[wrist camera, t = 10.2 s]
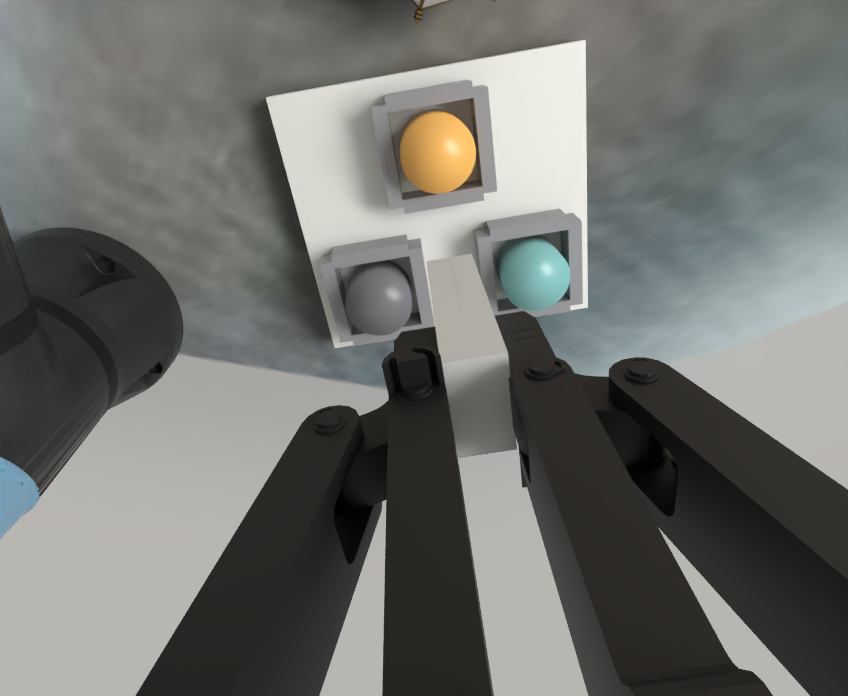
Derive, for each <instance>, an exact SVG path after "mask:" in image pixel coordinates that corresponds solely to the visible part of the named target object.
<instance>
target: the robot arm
mask: <svg viewBox="0 0 848 696" xmlns="http://www.w3.org/2000/svg"><path fill="white" fill-rule="evenodd" d="M426 263H427V270H428V277H429V285H430V292H431V299H432V307H433V314H434V321H435V327H428V328H422V329H416V330H409V331H403V332H401V333H400V334H399V336H398V337H397V338H396V340H395V341H394V352H392V353H390V354H389V355H388V356H387V357H386V358H384V361H383V363H382V368H383V372H384V377H385V381H386V385H387V390H388V394H389V400H388V401H387V402H386V403H385V404H384V405H382V406H381V407H379V408H378V409H376V410H374V411H371V412H369V413H367V414H364V415H361V416H359V415H358V413H357V412H356V410H355V409H353V408H351V407H349V406H341V405H338V406H331V407H330V406H329V407H326V408H323V409H320V410H318V411H316V412H314V413H313V414H311V415H310V416H308V417H307V418H306V420H304V422H303V423H302V424H301V426H300V427H299V429H298V431H297V432H296V434H295V435H294V437H293V439H292V440H291V442H290V444H289V445H288V447H287V449H286V450H285V452H284V453H283V455H282V457H281V458H280V460H279V462H278V463H277V465H276V467H275V468H274V470H273V471H272V473H271V475H270V477H269V478H268V480H267V481H266V483H265V485H264V487H263V488H262V490H261V491H260V493H259V495H258V496H257V498H256V499H255V501H254V503H253V504H252V506H251V508H250V509H249V511H248V512H247V514H246V516H245V517H244V519H243V521H242V522H241V524H240V526H239V527H238V529H237V530H236V532H235V534H234V535H233V537H232V539H231V540H230V542H229V544H228V545H227V547H226V548H225V550H224V552H223V553H222V555H221V557H220V558H219V560H218V562H217V563H216V565H215V567H214V568H213V570H212V571H211V573H210V575H209V576H208V578H207V580H206V581H205V583H204V584H203V586H202V588H201V589H200V591H199V593H198V595H197V596H196V598H195V599H194V601H193V603H192V604H191V606H190V607H189V609H188V611H187V612H186V614H185V616H184V617H183V619H182V621H181V622H180V624H179V625H178V627H177V629H176V630H175V632H174V634H173V635H172V637H171V639H170V640H169V642H168V644H167V645H166V647H165V649H164V650H163V652H162V653H161V655H160V657H159V658H158V660H157V661H156V663H155V665H154V667H153V668H152V670H151V671H150V673H149V675H148V676H147V678H146V680H145V681H144V683H143V685H142V686H141V688H140V690H139V691H138V693H137V694H136V696H319V694H320V692H321V689H322V686H323V683H324V680H325V677H326V674H327V671H328V668H329V665H330V662H331V659H332V656H333V653H334V650H335V647H336V644H337V641H338V638H339V635H340V632H341V629H342V626H343V623H344V621H345V618H346V614H347V611H348V608H349V606H350V603H351V600H352V597H353V594H354V591H355V588H356V585H357V582H358V579H359V576H360V573H361V570H362V567H363V564H364V561H365V558H366V555H367V552H368V549H369V546H370V543H371V540H372V537H373V534H374V531H375V528H376V525H377V522H378V519H379V516H380V514H381V510H382V501H384V500H387V503H386V551H385V552H386V553H385V557H386V558H385V601H384V647H383V696H494V694H493V688H492V682H491V675H490V668H489V661H488V656H487V648H486V642H485V635H484V628H483V622H482V616H481V609H480V602H479V596H478V589H477V582H476V576H475V569H474V563H473V557H472V550H471V543H470V537H469V530H468V523H467V517H466V511H465V504H464V497H463V491H462V484H461V477H460V471H459V465H458V459H457V458H461V457H468V456H474V455H482V454H488V453H495V452H501V451H507V450H515V449H517V445H516V438H517V442H518V445H519V454H520V465H521V477H522V487H527V488H528V491H529V495H530V498H531V501H532V505H533V508H534V512H535V515H536V518H537V522H538V525H539V528H540V532H541V535H542V539H543V542H544V546H545V549H546V552H547V556H548V559H549V563H550V566H551V569H552V573H553V576H554V580H555V583H556V586H557V590H558V593H559V596H560V600H561V603H562V607H563V610H564V613H565V617H566V620H567V624H568V627H569V631H570V634H571V637H572V641H573V644H574V648H575V651H576V655H577V657H578V661H579V665H580V668H581V672H582V675H583V678H584V682H585V685H586V688H587V692H588V695H589V696H773V695H772V694H771V693H770V691H769V689H768V688H767V687H766V685H765V684H764V682H763V681H761V679H760V678H758V677H757V676H756V675H755V674H754V673H753V672H751V671H747V670H742V669H739V668H738V667H736V666H735V665H734V663H732V661H731V660H730V658H729V657H728V655H727V653H726V652H725V650H724V648H723V646H722V644H721V642H720V641H719V639H718V637H717V635H716V633H715V631H714V630H713V628H712V626H711V624H710V622H709V620H708V618H707V617H706V615H705V613H704V611H703V609H702V607H701V606H700V604H699V602H698V600H697V598H696V597H695V595H694V593H693V591H692V589H691V587H690V585H689V584H688V582H687V580H686V578H685V576H684V574H683V572H682V571H681V569H680V567H679V566H678V563H677V561H676V560H675V558H674V556H673V554H672V552H671V551H670V549H669V547H668V545H667V544H666V541H665V540H664V538H663V536H662V534H661V532H660V530H659V528H660V529H661V530H662V532H663V533H664V534H665V535H666V536H667V537H668V538H669V539H670V540H671V542H673V544H674V545H675V546H676V547H677V548H678V549H679V551H680V552H681V553H682V554H683V555H684V556H685V557H686V558H687V559H688V561H690V563H691V564H692V565H693V566H694V567H695V568H696V569H697V570H698V572H699V573H700V574H701V575H702V576H703V577H704V578H705V579H706V580H707V582H708V583H709V584H710V585H711V586H712V587H713V588H714V589H715V591H716V592H717V593H718V594H719V595H720V596H721V597H722V598H723V599H724V600H725V602H726V603H727V604H728V605H729V606H730V607H731V608H732V609H733V610H734V612H735V613H736V614H737V615H738V616H739V617H740V618H741V619H742V620H743V621H744V623H745V624H746V625H747V626H748V627H749V628H750V629H751V630H752V632H753V633H754V634H755V635H756V636H757V637H758V638H759V639H760V640H761V642H762V643H763V644H764V645H765V646H766V647H767V648H768V649H769V650H770V652H771V653H772V654H773V655H774V656H775V657H776V658H777V659H778V660H779V662H780V663H781V664H782V665H783V666H784V667H785V668H786V669H787V670H788V672H790V674H791V675H792V676H793V677H794V678H795V679H796V680H797V681H798V683H799V684H800V685H801V686H802V687H803V688H804V689H805V690H806V691H807V692H808V694H809V695H810V696H848V490H847V489H846V488H845V487H843V486H842V485H840V484H839V483H837V482H836V481H834V480H833V479H831V478H830V477H829V476H827V475H826V474H824V473H823V472H821V471H820V470H818V469H817V468H816V467H814V466H813V465H811V464H810V463H808V462H807V461H806V460H804V459H803V458H801V457H800V456H798V455H797V454H795V453H794V452H793V451H791V450H790V449H788V448H787V447H785V446H784V445H783V444H781V443H780V442H778V441H777V440H775V439H774V438H772V437H771V436H770V435H768V434H767V433H765V432H764V431H762V430H761V429H759V428H758V427H756V426H755V425H754V424H752V423H751V422H749V421H748V420H746V419H745V418H744V417H742V416H741V415H739V414H738V413H736V412H735V411H733V410H732V409H730V408H729V407H728V406H726V405H725V404H723V403H722V402H720V401H719V400H718V399H716V398H715V397H713V396H712V395H710V394H709V393H707V392H706V391H705V390H703V389H702V388H700V387H699V386H697V385H696V384H694V383H693V382H692V381H690V380H689V379H687V378H686V377H684V376H683V375H682V374H680V373H679V372H677V371H676V370H674V369H673V368H671V367H670V366H669V365H667V364H665V363H662V362H660V361H658V360H654V359H649V358H643V357H641V358H639V357H636V358H629V359H624V360H621V361H619V362H617V363H615V364H613V366H612V367H611V368H610V369H609V377H596V376H584V375H579V374H575V373H574V372H573V370H572V368H571V367H570V366H569V365H568V364H567V362H566V361H564V360H561V359H559V358H556V356H555V354H554V352H553V350H552V348H551V347H550V345H549V343H548V341H547V339H546V337H545V336H544V333H543V331H542V329H540V325H539V323H538V322H537V320H536V318H535V317H534V316H532V315H530V314H528V313H527V312H525V311H520V312H514V313H508V314H501V315H495V316H494V313H493V311H492V308H491V305H490V302H489V300H488V297H487V294H486V291H485V289H484V286H483V283H482V281H481V278H480V275H479V272H478V270H477V267H476V264H475V262H474V259H473V256H472V254H467V255H461V256H455V257H449V258H443V259H437V260H431V261H426ZM182 338H183V321H182V315H181V311H180V307H179V305H178V302H177V300H176V297H175V295H174V293H173V291H172V290H171V288H170V286H169V285H168V283H167V282H166V280H165V279H164V278H163V276H162V275H161V274H160V273H159V272H158V271H157V270H156V269H155V268H154V266H153V265H151V264H150V263H149V262H148V261H147V260H146V259H145V258H143V257H142V256H141V255H140V254H138V253H137V252H136V251H134V250H133V249H131V248H129V247H128V246H126V245H124V244H122V243H121V242H119V241H117V240H114V239H112V238H110V237H107V236H105V235H102V234H99V233H95V232H92V231H87V230H82V229H74V228H54V229H47V230H42V231H39V232H35V233H33V234H30V235H28V236H26V237H24V238H22V239H20V240H18V241H16V242H14V243H13V242H12V239H11V237H10V234H9V231H8V228H7V225H6V222H5V219H4V216H3V213H2V210H1V207H0V539H1V538H2V537H3V535H5V534H6V532H7V531H8V530H9V529H10V528H11V527H12V526H13V525H14V524H15V523H16V522H17V520H18V519H19V518H20V517H21V516H22V515H24V514H26V513H27V512H28V511H29V510H31V509H32V508H34V506H35V505H36V503H37V502H38V500H39V498H40V496H41V495H42V494H43V493H44V491H45V490H46V489H47V487H48V486H49V485H50V484H51V482H52V481H53V480H54V478H55V477H56V476H57V474H58V473H59V472H60V471H61V469H62V468H63V467H64V465H65V464H66V463H67V462H68V460H69V459H70V458H71V456H72V455H73V454H74V453H75V451H76V450H77V449H78V447H79V446H80V445H81V443H82V442H83V441H84V439H85V438H86V437H87V436H88V434H89V433H90V432H91V431H92V429H93V428H94V427H95V425H96V424H97V423H98V422H99V420H100V419H101V417H102V416H103V415H104V414H105V413H106V411H107V410H108V409H110V408H112V407H114V406H116V405H118V404H120V403H122V402H124V401H126V400H128V399H130V398H132V397H134V396H136V395H138V394H140V393H141V392H143V391H145V390H147V389H148V388H150V387H151V386H152V385H154V384H155V383H156V382H157V381H158V380H159V379H160V378H161V377H162V376H163V375H164V374H165V372H166V371H167V369H168V368H169V367H170V365H171V364H172V362H173V361H174V360H175V358H176V356H177V354H178V352H179V350H180V347H181V343H182ZM657 526H658V527H659V528H658V527H657Z"/></svg>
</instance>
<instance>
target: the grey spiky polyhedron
mask: <svg viewBox="0 0 848 696" xmlns="http://www.w3.org/2000/svg"><path fill="white" fill-rule="evenodd" d="M412 1H413V2H414V4H415V5H416V6H417V7H418V8H417V11H416V12H415V16H414V18H415V23H416V25H417V24H418V23H419V22H420V20H422V16H423V14H422V11H423V9H427V8H430V7H433V6H437V5H440V4H443V3H447V2H450V1H453V0H412ZM492 1H495V2H496V0H492Z"/></svg>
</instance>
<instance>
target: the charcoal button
mask: <svg viewBox="0 0 848 696" xmlns="http://www.w3.org/2000/svg"><path fill="white" fill-rule="evenodd" d="M345 308H346V313H347V316H348V318H349V320H350V321H351V322H352V324H353V325H354V326H355V327H356V328H358V329H359V330H361V331H362V332H364V333H367V334H370V335H376V336H382V335H388V334H391V333H394V332H396V331H398V330H399V329H400V328H402V327H403V326H404V325H405V324H406V322H407V321H408V319H409V317H410V314H411V310H412V300H411V285H410V280H409V277H408V275H407V274H406V272H405V271H404V270H403V269H402V268H401V267H400V266H399V265H398V264H396V263H394V262H392V261H389V260H384V261H378V262H372V263H366V264H361V265H360V266H358V267H357V268H356V269H355V271H354V272H353V274H352V276H351V278H350V282H349V286H348V291H347V296H346V302H345Z"/></svg>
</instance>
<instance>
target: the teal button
mask: <svg viewBox="0 0 848 696" xmlns="http://www.w3.org/2000/svg"><path fill="white" fill-rule="evenodd" d="M496 272H497V275H498V278H499V280H500V282H501V285H502V287H503V289H504V291H505V293H506V295H507V297H508V299H509V300H510V301H511V302H512V303H513V304H514V305H515V306H517V307H518V308H521V309H524V310H528V311H538V310H543V309H546V308H548V307H550V306H552V305H554V304H555V303H556V302H558V301H559V300H560V299H561V298H562V297H563V295H564V294H565V292H566V291H567V289H568V286H569V283H570V269H569V266H568V263H567V262H566V260H565V259H564V257H563V256H562V255H561V254H560V253H559V251H558V250H557V249H556V248H555V246H554V245H553V244H552V243H551V242H550V241H549V240H548V239H547V238H545V237H543V236H541V235H533V236H528V237H522V238H516V239H511V240H510V241H509V242H507V243H506V244H505V245H504V247H503V248H502V249H501V251H500V253H499V255H498V257H497V261H496Z"/></svg>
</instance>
